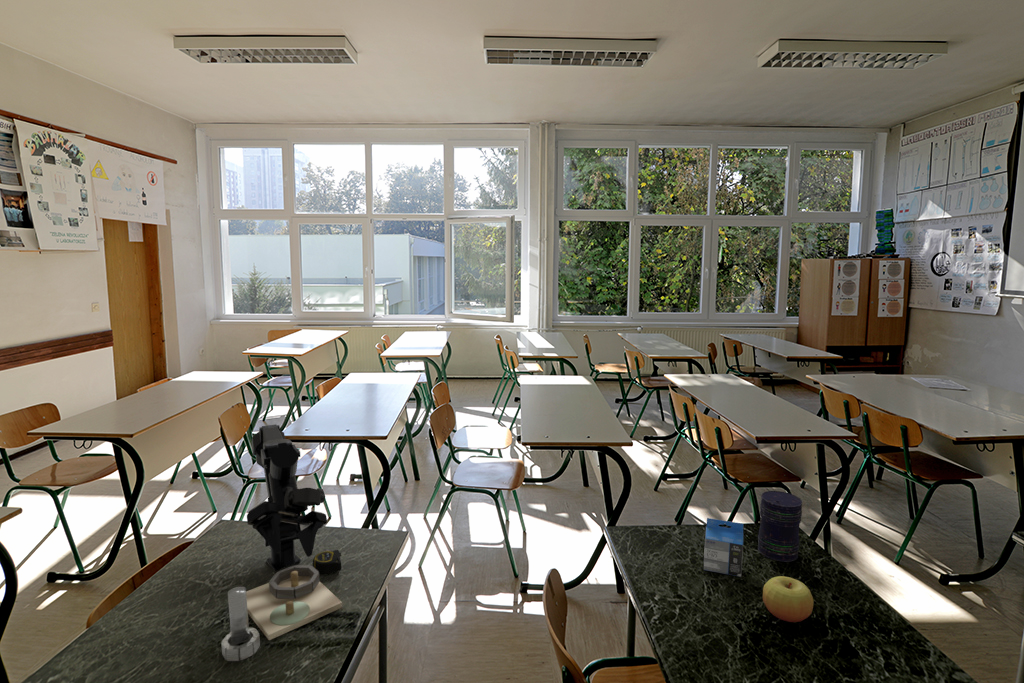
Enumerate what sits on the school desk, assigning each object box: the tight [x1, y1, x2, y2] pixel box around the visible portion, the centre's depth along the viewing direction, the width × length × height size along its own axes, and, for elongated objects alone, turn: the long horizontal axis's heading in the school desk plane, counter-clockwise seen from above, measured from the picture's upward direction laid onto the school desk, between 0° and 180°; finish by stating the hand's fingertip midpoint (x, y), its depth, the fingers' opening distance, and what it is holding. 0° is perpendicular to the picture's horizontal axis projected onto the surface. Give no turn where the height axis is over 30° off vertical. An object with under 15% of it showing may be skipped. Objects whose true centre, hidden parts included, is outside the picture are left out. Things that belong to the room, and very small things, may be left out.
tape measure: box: [312, 549, 343, 576], centre depth 140 cm, size 7×7×4 cm
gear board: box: [246, 564, 343, 641], centre depth 126 cm, size 19×16×4 cm
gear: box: [220, 586, 261, 662], centre depth 110 cm, size 6×6×12 cm
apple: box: [762, 575, 815, 623], centre depth 122 cm, size 10×10×8 cm
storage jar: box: [757, 490, 803, 563], centre depth 148 cm, size 10×10×15 cm
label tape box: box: [703, 517, 744, 578], centre depth 139 cm, size 9×4×12 cm, turn 68°
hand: (294, 554), depth 122 cm, fingers open, 9 cm apart
